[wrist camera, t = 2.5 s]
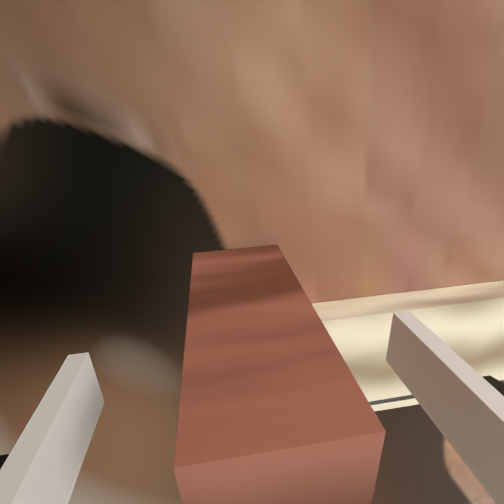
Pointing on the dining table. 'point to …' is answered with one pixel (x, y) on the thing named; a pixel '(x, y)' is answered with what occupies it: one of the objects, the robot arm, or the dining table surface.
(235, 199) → the dining table surface
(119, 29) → the dining table surface
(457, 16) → the dining table surface
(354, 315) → the board
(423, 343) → the robot arm
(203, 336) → the block
